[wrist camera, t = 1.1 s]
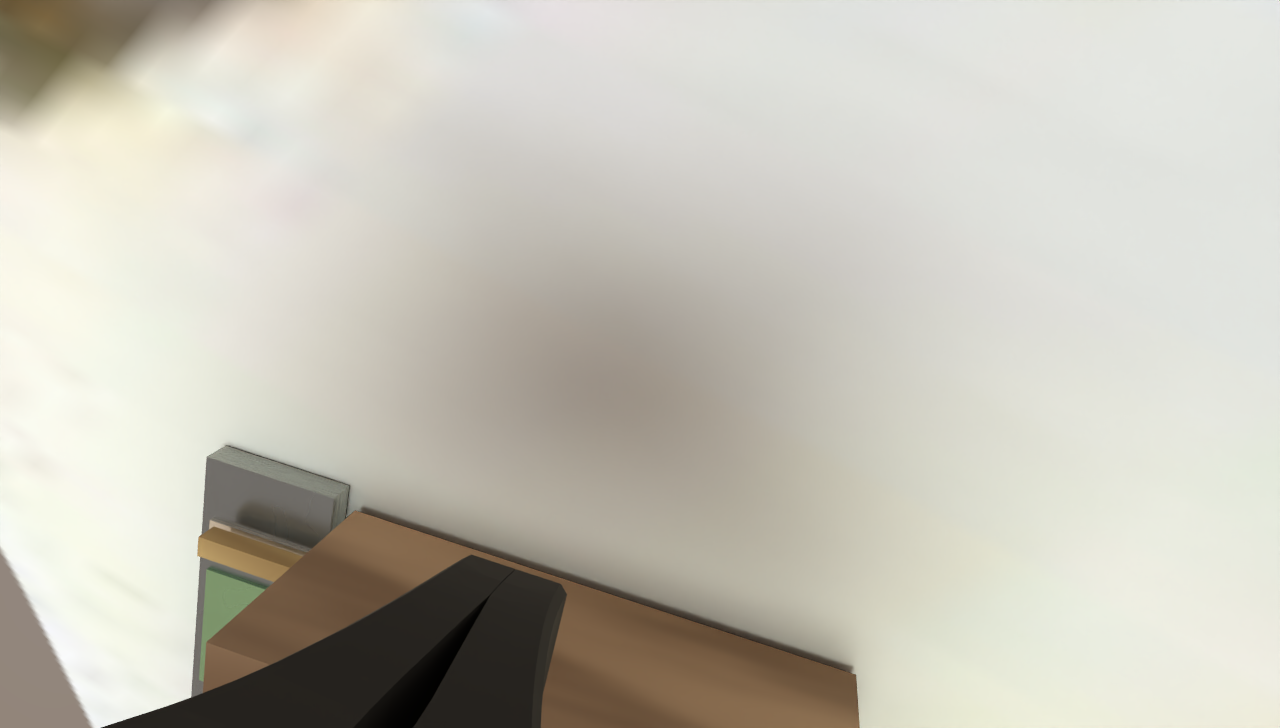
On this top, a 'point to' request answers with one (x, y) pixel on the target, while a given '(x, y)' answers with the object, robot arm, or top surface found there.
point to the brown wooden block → (584, 649)
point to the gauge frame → (256, 530)
